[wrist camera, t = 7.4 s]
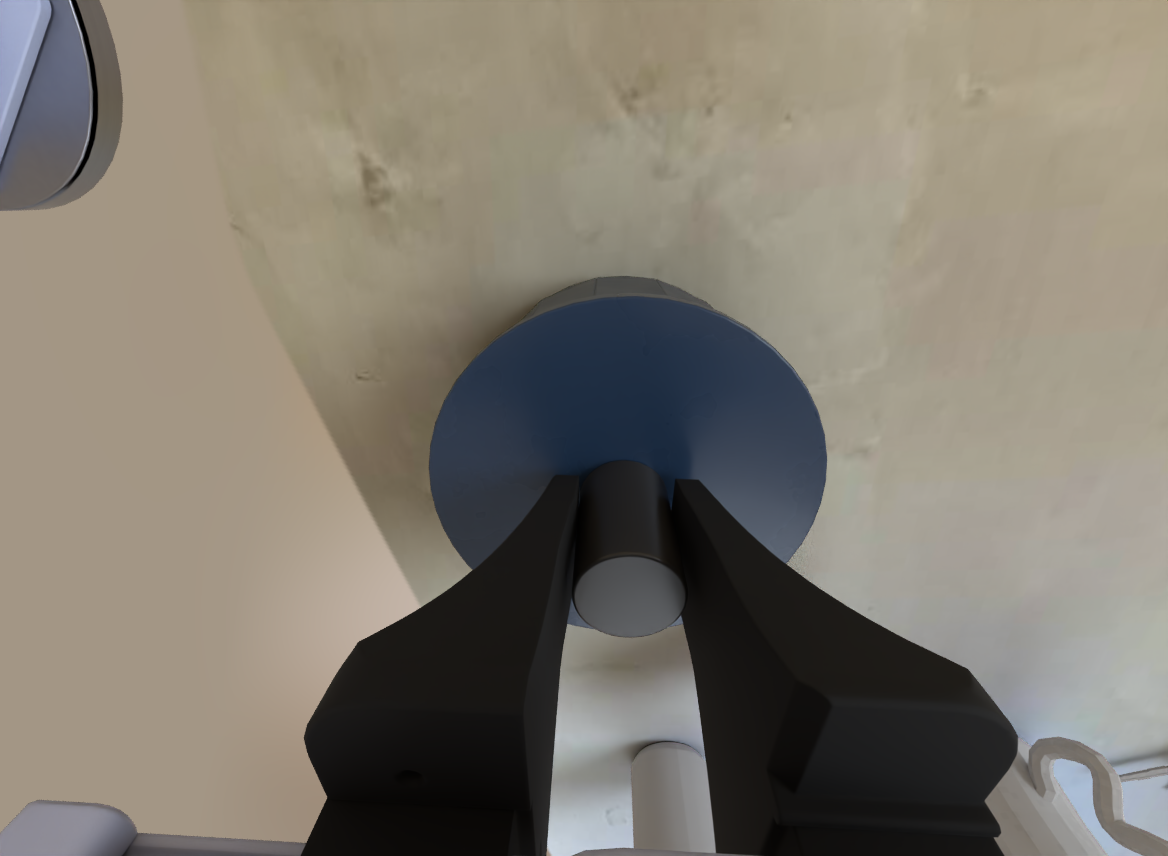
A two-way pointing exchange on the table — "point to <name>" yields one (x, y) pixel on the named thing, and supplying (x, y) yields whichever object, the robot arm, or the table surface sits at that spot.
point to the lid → (627, 444)
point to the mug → (1061, 805)
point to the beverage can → (671, 799)
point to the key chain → (1144, 774)
